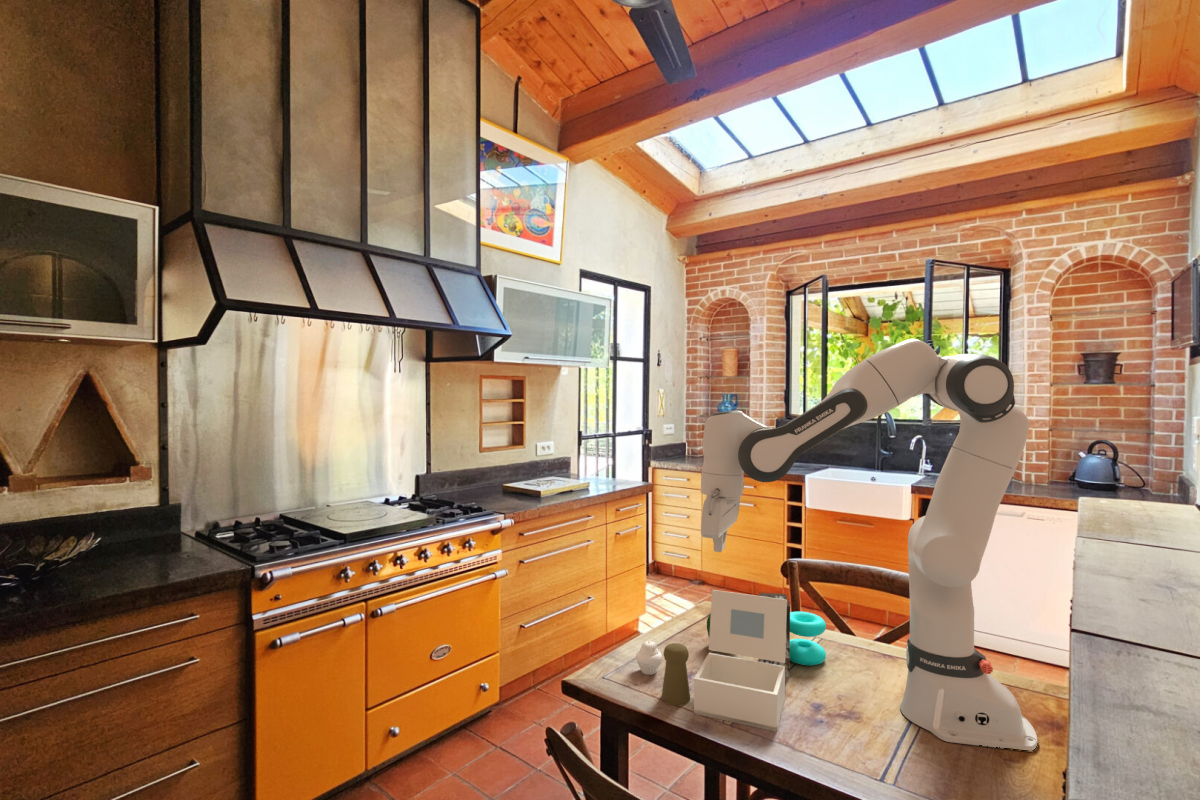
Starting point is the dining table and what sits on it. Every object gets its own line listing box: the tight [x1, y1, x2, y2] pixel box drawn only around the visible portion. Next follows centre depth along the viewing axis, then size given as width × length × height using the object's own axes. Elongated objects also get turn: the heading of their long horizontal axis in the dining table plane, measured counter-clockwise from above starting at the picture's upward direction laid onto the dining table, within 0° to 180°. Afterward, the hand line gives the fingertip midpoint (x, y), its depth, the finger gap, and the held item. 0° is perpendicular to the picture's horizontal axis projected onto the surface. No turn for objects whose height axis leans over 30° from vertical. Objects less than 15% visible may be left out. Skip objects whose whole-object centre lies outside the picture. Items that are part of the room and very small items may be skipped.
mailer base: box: [693, 652, 786, 733], centre depth 121 cm, size 16×13×7 cm
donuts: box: [790, 611, 827, 666], centre depth 143 cm, size 10×10×10 cm
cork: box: [661, 642, 691, 706], centre depth 124 cm, size 6×6×11 cm
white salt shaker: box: [635, 640, 663, 676], centre depth 136 cm, size 6×6×7 cm
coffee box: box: [758, 592, 791, 678], centre depth 138 cm, size 9×6×16 cm
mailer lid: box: [708, 589, 787, 663], centre depth 128 cm, size 16×13×1 cm
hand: (719, 550), depth 126 cm, fingers closed
